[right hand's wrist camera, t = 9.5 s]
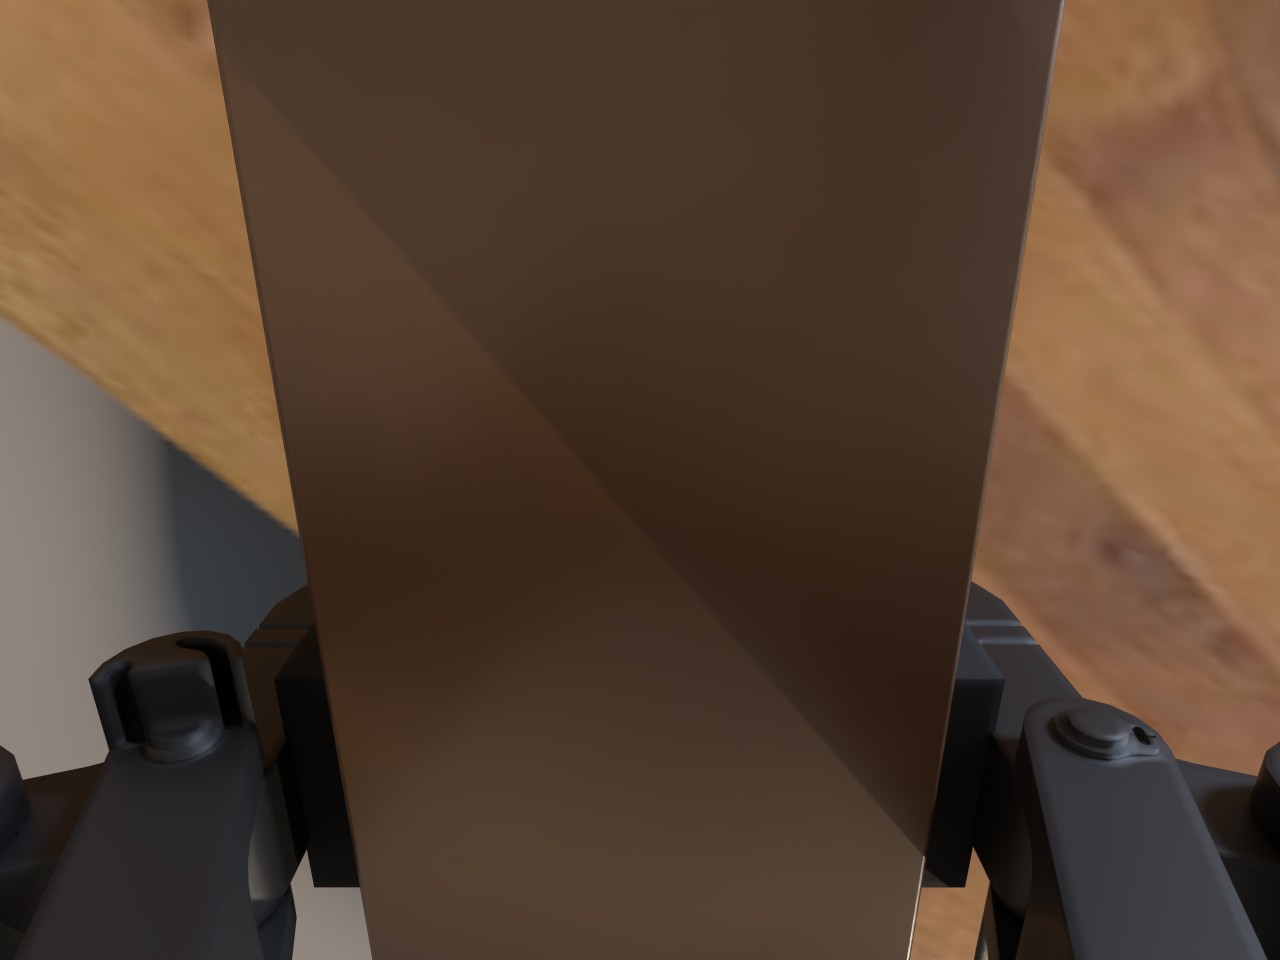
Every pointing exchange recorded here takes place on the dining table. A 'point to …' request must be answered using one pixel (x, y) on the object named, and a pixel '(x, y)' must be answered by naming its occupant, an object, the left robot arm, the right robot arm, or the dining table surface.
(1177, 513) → the dining table surface
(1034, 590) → the dining table surface
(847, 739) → the bar
